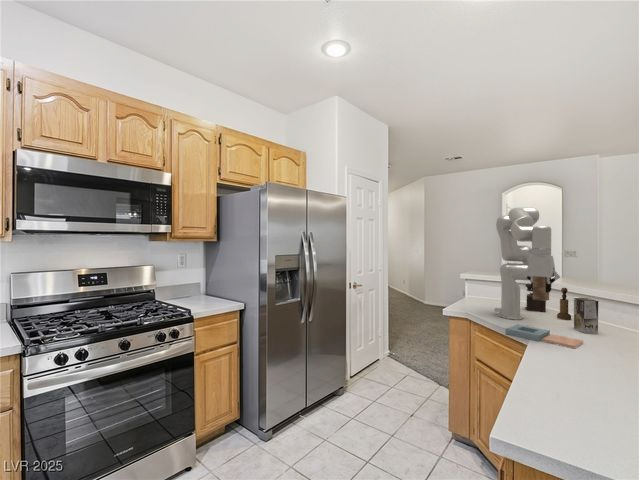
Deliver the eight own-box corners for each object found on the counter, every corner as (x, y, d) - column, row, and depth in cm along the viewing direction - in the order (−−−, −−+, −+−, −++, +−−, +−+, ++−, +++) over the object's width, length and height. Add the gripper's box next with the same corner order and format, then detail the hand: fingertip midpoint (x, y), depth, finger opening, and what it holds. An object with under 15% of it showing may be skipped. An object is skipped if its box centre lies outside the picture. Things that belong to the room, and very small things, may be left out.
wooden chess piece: (554, 317, 191) (554, 286, 191) (564, 317, 191) (564, 286, 191) (563, 320, 184) (563, 288, 184) (574, 320, 185) (574, 288, 184)
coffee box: (598, 334, 157) (599, 301, 157) (583, 333, 159) (584, 300, 158) (587, 329, 166) (587, 297, 166) (573, 328, 167) (573, 297, 167)
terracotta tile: (542, 341, 145) (542, 338, 145) (551, 336, 153) (551, 334, 153) (574, 348, 136) (574, 345, 136) (583, 343, 143) (583, 340, 143)
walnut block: (532, 299, 151) (532, 275, 151) (536, 298, 154) (537, 275, 154) (544, 301, 147) (545, 276, 147) (549, 299, 150) (549, 276, 150)
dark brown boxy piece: (525, 307, 218) (525, 280, 217) (545, 309, 212) (545, 282, 211) (525, 311, 204) (525, 283, 204) (546, 314, 198) (546, 284, 198)
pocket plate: (505, 333, 157) (505, 328, 157) (517, 329, 165) (517, 324, 165) (538, 341, 146) (538, 335, 146) (549, 335, 154) (549, 330, 154)
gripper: (517, 252, 155) (517, 289, 155) (560, 253, 142) (559, 294, 142) (524, 251, 160) (524, 288, 160) (566, 253, 146) (565, 293, 146)
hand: (541, 291), depth 151 cm, fingers closed on walnut block, 5 cm apart
